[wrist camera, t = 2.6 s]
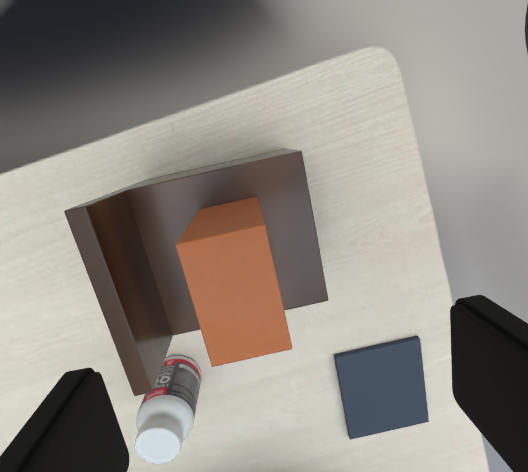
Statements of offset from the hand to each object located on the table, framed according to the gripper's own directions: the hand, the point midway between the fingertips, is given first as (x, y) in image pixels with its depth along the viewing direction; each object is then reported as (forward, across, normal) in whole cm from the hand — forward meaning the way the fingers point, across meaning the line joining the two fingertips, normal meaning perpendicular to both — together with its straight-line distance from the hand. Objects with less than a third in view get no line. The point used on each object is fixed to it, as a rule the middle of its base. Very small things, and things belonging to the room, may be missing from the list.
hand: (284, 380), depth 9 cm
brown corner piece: (+27, +3, +1) cm, 27 cm away
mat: (+27, -11, +25) cm, 38 cm away
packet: (+17, +2, +1) cm, 17 cm away
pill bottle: (+27, +12, +18) cm, 34 cm away
